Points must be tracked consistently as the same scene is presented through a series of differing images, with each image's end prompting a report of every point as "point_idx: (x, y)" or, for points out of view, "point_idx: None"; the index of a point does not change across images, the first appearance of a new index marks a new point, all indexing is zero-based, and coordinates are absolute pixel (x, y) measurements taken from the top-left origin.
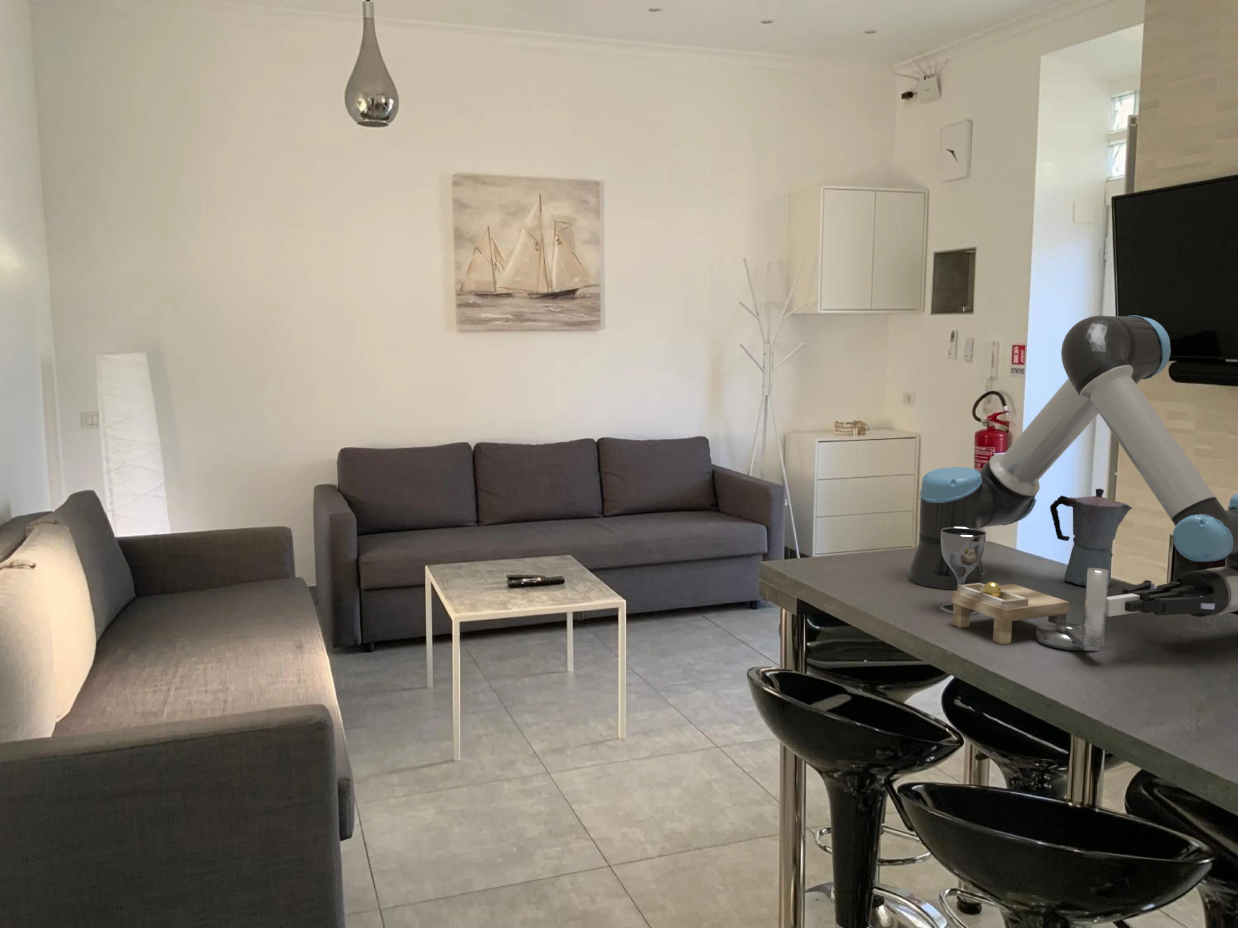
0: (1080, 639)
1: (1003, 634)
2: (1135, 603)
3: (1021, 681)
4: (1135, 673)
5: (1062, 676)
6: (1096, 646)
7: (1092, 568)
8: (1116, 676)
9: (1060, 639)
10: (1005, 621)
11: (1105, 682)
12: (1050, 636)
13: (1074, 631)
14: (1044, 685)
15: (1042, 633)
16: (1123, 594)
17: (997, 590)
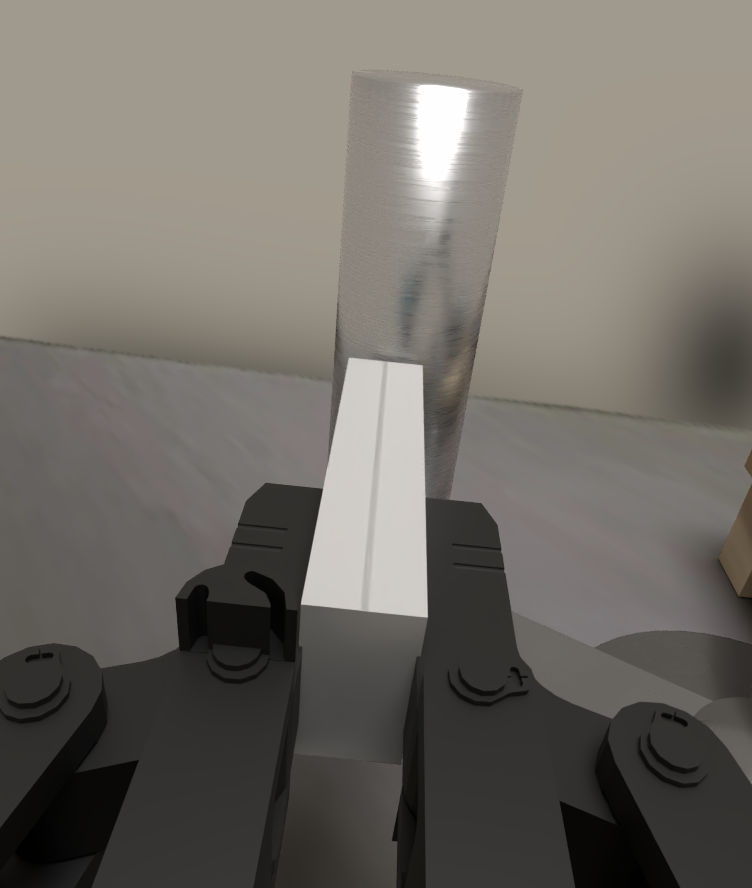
0: None
1: (738, 528)
2: (242, 522)
3: None
4: None
5: (308, 473)
6: None
7: (501, 88)
8: (175, 602)
9: (609, 644)
10: (745, 466)
11: (170, 523)
12: (661, 631)
13: (632, 693)
14: (284, 403)
15: (723, 638)
16: (607, 724)
17: None
